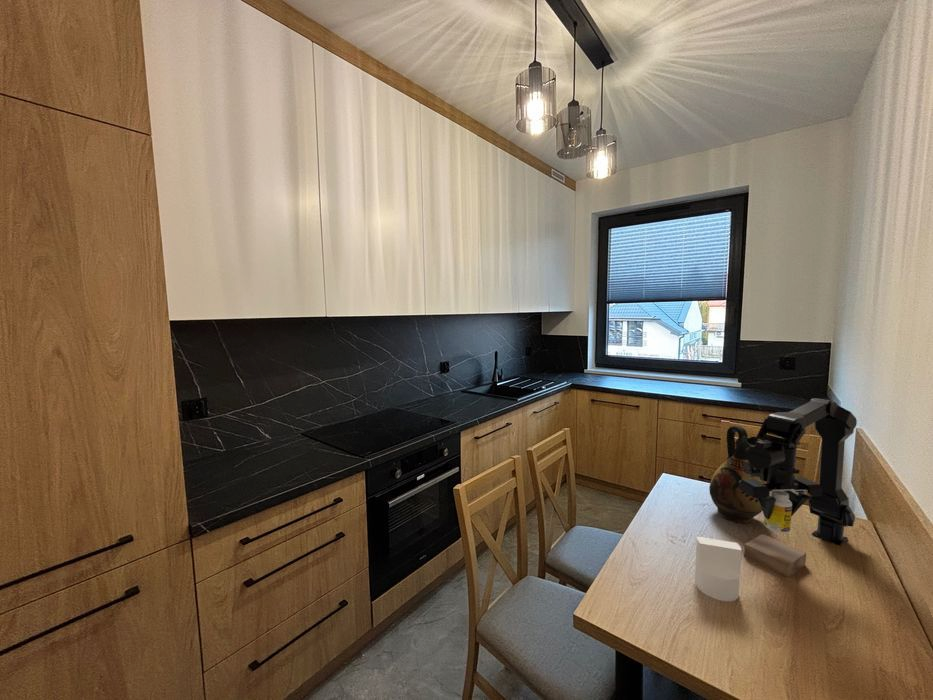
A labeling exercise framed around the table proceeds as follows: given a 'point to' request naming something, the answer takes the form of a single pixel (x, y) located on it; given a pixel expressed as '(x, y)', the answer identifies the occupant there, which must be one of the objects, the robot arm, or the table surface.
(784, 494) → the supplement bottle
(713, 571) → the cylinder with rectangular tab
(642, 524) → the table surface
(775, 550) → the walnut block
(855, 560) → the table surface
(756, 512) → the ceramic jug
